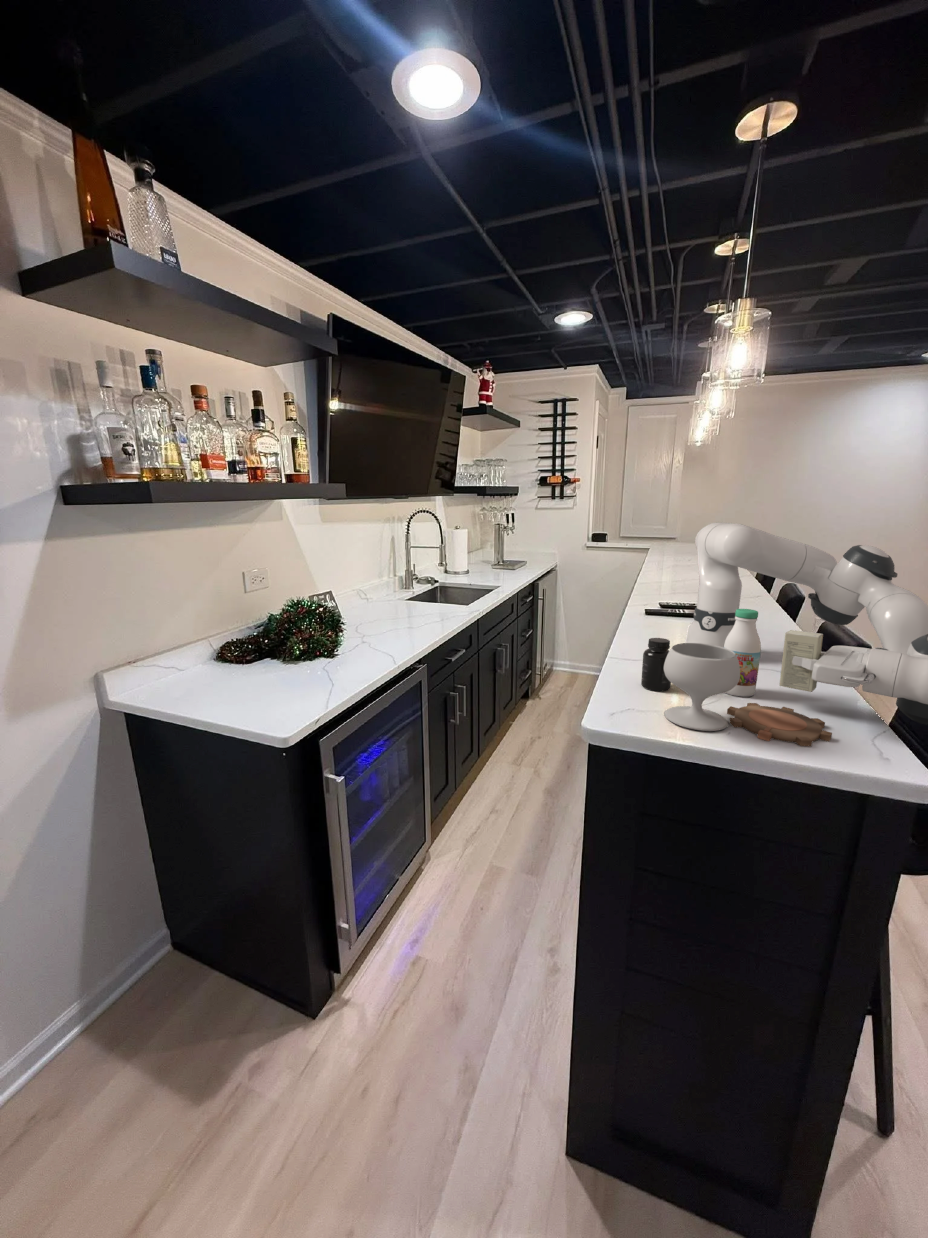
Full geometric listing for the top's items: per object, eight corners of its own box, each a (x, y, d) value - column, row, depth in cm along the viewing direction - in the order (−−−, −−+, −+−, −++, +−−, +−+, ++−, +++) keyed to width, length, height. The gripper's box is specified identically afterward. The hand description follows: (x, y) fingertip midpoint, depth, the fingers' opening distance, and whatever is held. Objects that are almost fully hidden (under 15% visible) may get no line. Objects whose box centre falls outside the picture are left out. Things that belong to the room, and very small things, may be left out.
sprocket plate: (741, 701, 113) (742, 695, 113) (839, 726, 100) (840, 719, 100) (713, 725, 100) (714, 718, 100) (820, 756, 88) (821, 749, 88)
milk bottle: (716, 684, 124) (726, 606, 120) (751, 688, 121) (762, 608, 117) (720, 695, 117) (731, 612, 112) (758, 699, 114) (770, 614, 110)
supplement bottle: (665, 683, 125) (670, 636, 122) (674, 692, 118) (679, 644, 116) (637, 681, 126) (641, 635, 123) (644, 691, 119) (648, 643, 116)
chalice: (657, 727, 100) (664, 655, 96) (660, 702, 112) (667, 638, 109) (735, 740, 94) (746, 664, 91) (730, 713, 106) (739, 646, 103)
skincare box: (816, 688, 108) (825, 633, 105) (811, 693, 105) (821, 637, 102) (782, 681, 112) (790, 628, 110) (777, 685, 110) (785, 632, 107)
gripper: (867, 700, 92) (781, 682, 101) (881, 675, 106) (805, 661, 116) (873, 668, 91) (786, 652, 100) (887, 646, 105) (809, 634, 114)
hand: (796, 656), depth 108 cm, fingers closed on skincare box, 4 cm apart
